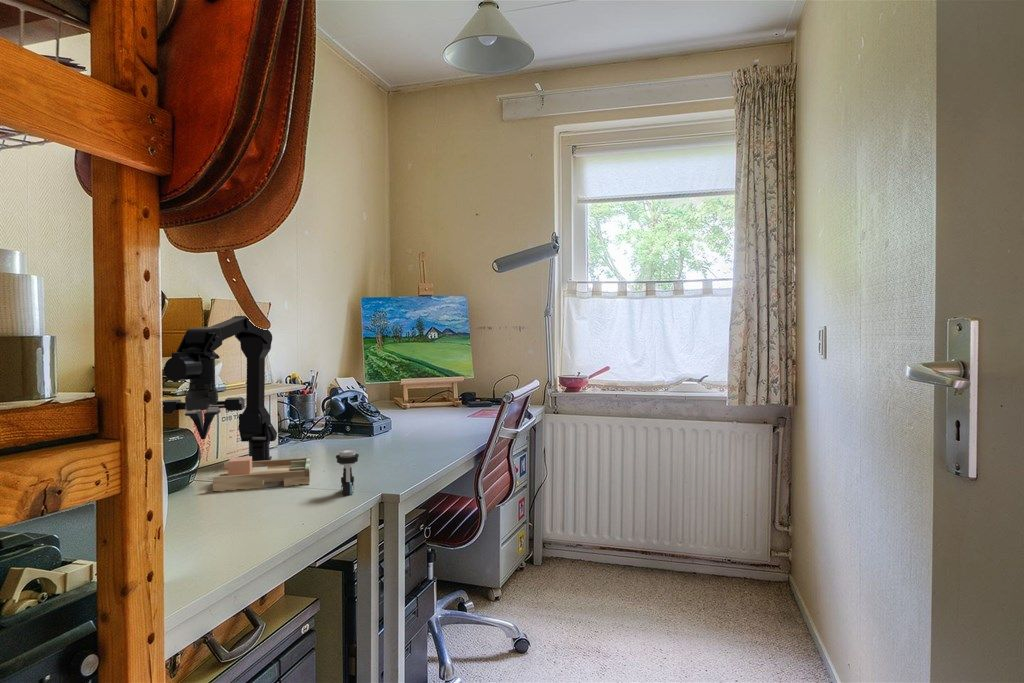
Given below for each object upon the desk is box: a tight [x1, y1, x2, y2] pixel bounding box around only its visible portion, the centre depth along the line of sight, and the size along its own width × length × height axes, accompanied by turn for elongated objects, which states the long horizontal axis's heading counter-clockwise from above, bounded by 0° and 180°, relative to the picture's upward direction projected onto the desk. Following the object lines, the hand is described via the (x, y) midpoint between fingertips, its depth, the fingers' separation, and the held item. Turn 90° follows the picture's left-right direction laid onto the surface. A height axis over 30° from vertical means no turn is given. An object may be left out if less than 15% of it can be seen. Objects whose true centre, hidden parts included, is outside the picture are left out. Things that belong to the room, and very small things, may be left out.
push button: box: [335, 449, 360, 496], centre depth 140 cm, size 7×5×10 cm
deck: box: [212, 455, 312, 492], centre depth 151 cm, size 16×22×4 cm
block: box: [227, 455, 253, 476], centre depth 149 cm, size 5×5×4 cm
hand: (203, 439), depth 146 cm, fingers closed
